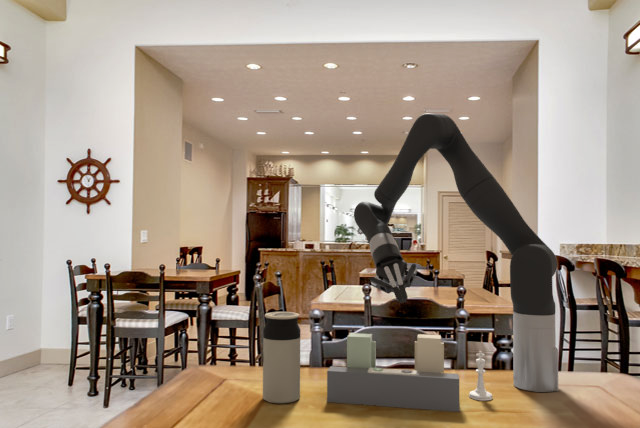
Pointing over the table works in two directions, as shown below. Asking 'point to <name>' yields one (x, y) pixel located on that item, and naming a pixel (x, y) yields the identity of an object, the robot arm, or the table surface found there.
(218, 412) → the table surface
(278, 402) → the travel mug
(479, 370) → the chess piece
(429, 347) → the sand key
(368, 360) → the sage key
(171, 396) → the table surface
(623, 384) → the table surface
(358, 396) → the console
